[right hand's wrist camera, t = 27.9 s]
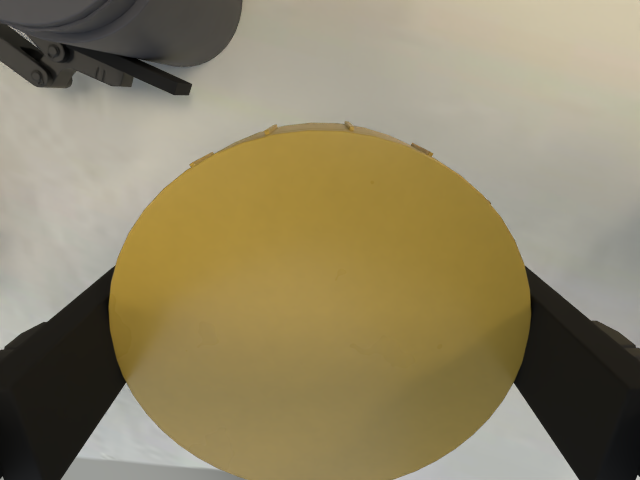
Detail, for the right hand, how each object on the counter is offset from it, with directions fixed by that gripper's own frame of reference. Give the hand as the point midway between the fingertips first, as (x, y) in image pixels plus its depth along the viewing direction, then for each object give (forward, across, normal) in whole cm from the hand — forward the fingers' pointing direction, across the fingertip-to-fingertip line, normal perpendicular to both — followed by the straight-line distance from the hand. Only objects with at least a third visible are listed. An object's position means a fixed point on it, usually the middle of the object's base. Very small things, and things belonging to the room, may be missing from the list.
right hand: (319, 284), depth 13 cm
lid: (-3, 0, 0) cm, 3 cm away
